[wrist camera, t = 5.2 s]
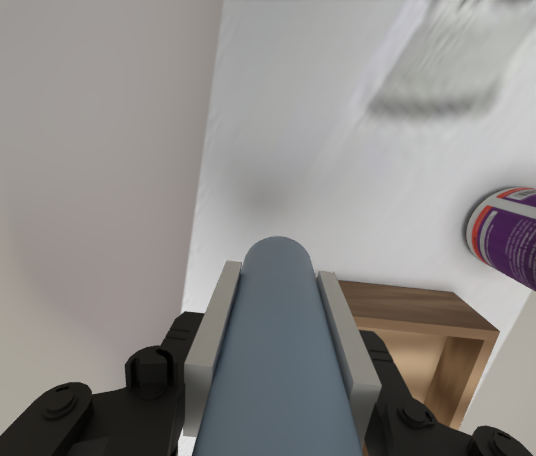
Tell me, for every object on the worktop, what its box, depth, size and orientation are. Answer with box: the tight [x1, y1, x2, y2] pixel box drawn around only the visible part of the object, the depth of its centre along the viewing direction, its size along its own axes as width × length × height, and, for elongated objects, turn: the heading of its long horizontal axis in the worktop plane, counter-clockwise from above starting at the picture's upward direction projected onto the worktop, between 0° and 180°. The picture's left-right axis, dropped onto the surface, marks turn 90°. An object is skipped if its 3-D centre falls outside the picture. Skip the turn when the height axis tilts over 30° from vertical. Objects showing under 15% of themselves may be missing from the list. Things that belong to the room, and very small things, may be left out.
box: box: [316, 278, 500, 456], centre depth 30 cm, size 18×22×6 cm
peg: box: [192, 236, 364, 456], centre depth 11 cm, size 4×4×12 cm
